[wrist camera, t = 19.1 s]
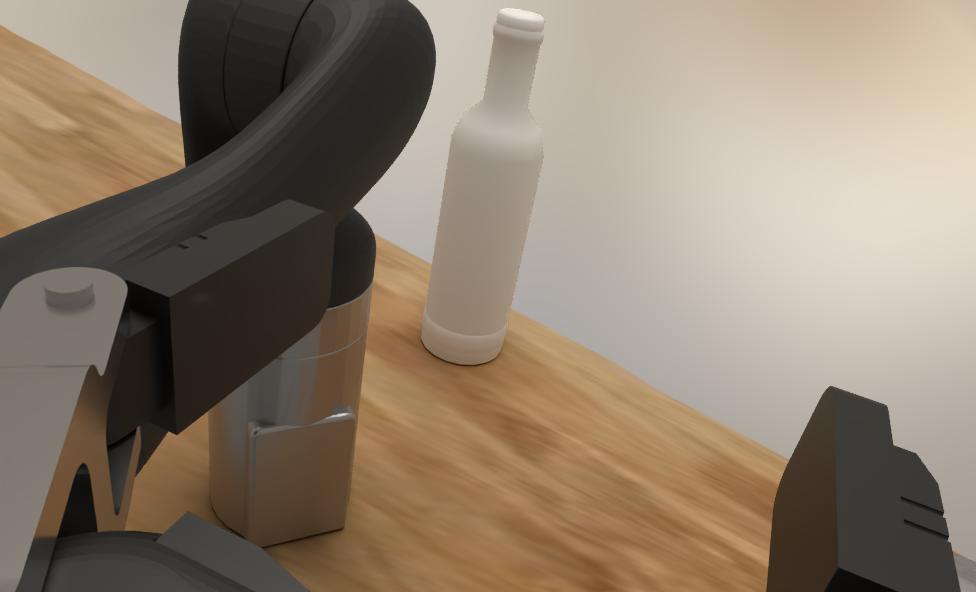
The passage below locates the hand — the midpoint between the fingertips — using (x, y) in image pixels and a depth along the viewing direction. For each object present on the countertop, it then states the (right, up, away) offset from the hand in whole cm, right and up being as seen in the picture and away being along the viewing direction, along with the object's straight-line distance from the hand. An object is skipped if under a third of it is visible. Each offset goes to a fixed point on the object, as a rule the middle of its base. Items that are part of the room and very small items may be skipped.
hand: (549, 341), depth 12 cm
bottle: (-4, -4, +58) cm, 59 cm away
